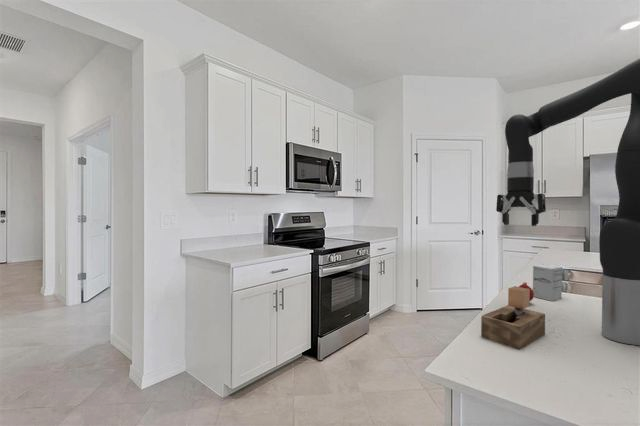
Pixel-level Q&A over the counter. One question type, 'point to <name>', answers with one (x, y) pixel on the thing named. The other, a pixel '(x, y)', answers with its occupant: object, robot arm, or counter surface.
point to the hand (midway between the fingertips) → (519, 225)
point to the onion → (528, 288)
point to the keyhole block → (513, 326)
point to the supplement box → (547, 282)
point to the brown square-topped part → (518, 299)
